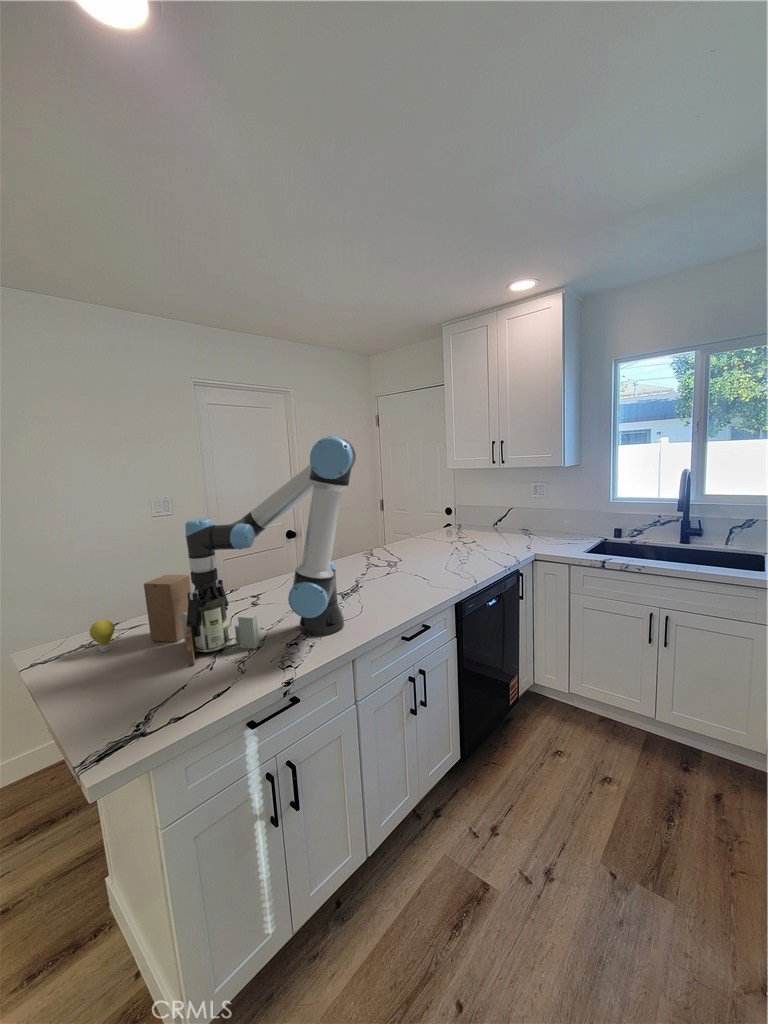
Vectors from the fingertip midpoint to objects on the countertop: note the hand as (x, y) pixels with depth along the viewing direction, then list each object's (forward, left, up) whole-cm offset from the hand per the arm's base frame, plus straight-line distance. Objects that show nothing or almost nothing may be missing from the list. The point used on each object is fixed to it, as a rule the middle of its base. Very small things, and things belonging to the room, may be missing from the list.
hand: (211, 637), depth 132 cm
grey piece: (-1, -3, -4) cm, 5 cm away
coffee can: (0, 0, -3) cm, 3 cm away
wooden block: (+20, -7, -4) cm, 22 cm away
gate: (+4, +4, -3) cm, 7 cm away
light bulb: (+35, +6, -4) cm, 36 cm away
